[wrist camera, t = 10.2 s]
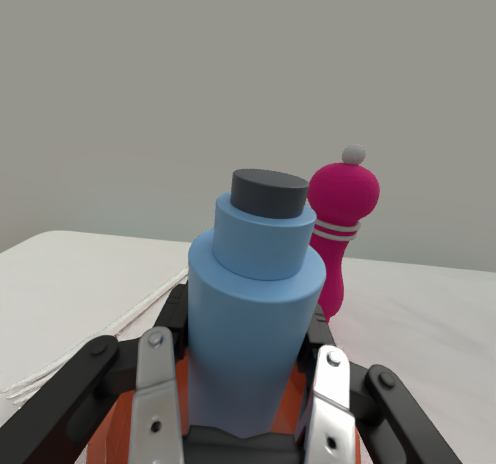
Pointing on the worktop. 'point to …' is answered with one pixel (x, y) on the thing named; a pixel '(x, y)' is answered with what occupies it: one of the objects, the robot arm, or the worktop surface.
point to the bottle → (250, 301)
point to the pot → (185, 419)
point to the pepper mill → (339, 217)
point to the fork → (109, 330)
